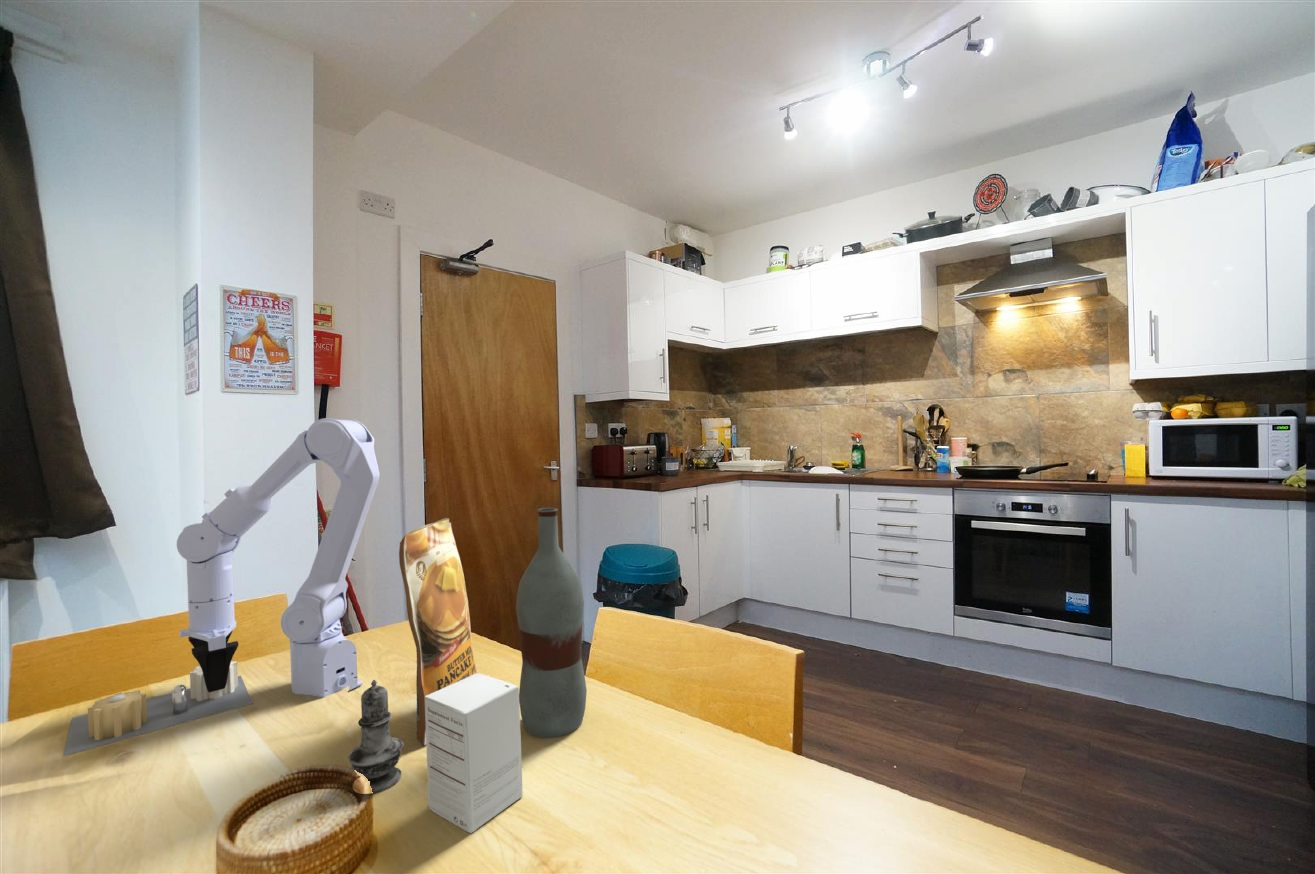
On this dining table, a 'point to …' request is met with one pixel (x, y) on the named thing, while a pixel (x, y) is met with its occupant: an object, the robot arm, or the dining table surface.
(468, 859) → the dining table surface
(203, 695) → the gear
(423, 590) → the pancake mix bag
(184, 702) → the steel peg
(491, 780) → the supplement box
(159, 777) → the dining table surface
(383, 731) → the dark grey tall piece
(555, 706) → the bottle
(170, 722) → the gear board
